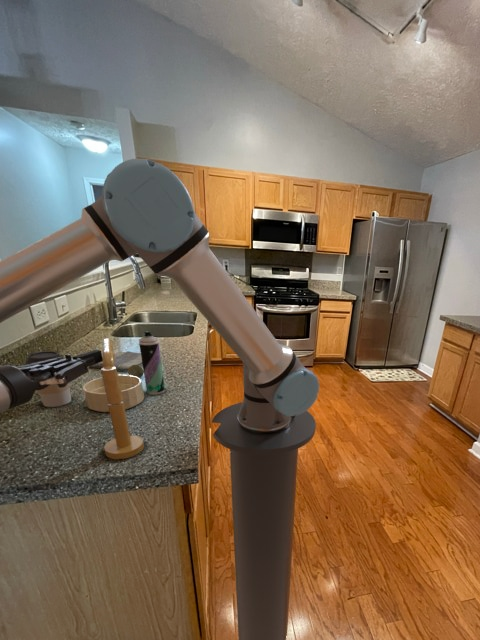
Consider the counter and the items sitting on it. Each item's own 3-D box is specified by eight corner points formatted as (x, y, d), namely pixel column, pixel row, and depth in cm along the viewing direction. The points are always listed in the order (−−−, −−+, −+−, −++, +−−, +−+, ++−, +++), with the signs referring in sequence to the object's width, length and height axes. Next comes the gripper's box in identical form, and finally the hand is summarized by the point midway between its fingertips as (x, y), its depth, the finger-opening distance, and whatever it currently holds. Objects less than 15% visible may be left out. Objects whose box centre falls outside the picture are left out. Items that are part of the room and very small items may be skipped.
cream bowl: (153, 394, 102) (151, 377, 100) (124, 415, 89) (120, 395, 86) (110, 390, 104) (106, 373, 101) (74, 410, 90) (69, 390, 88)
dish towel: (129, 372, 119) (128, 364, 118) (87, 367, 122) (85, 359, 120) (158, 359, 136) (157, 351, 135) (120, 355, 138) (119, 347, 137)
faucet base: (150, 442, 77) (143, 397, 72) (130, 461, 70) (121, 412, 65) (120, 438, 78) (110, 394, 73) (97, 457, 70) (85, 408, 66)
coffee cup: (78, 394, 99) (66, 348, 93) (72, 406, 92) (59, 356, 86) (43, 397, 96) (29, 349, 90) (34, 410, 89) (17, 358, 82)
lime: (146, 378, 115) (144, 365, 113) (132, 381, 112) (130, 367, 110) (140, 374, 118) (138, 362, 116) (127, 377, 115) (125, 364, 112)
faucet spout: (122, 403, 68) (116, 368, 65) (108, 405, 67) (100, 369, 64) (117, 364, 91) (112, 337, 87) (106, 365, 89) (100, 337, 86)
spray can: (143, 393, 103) (133, 332, 95) (155, 387, 108) (146, 328, 100) (157, 396, 102) (148, 334, 93) (168, 390, 106) (160, 330, 98)
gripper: (-28, 405, 58) (79, 367, 79) (32, 415, 56) (125, 373, 77) (-44, 366, 55) (72, 337, 76) (19, 375, 53) (120, 342, 74)
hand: (99, 355), depth 76 cm, fingers closed
